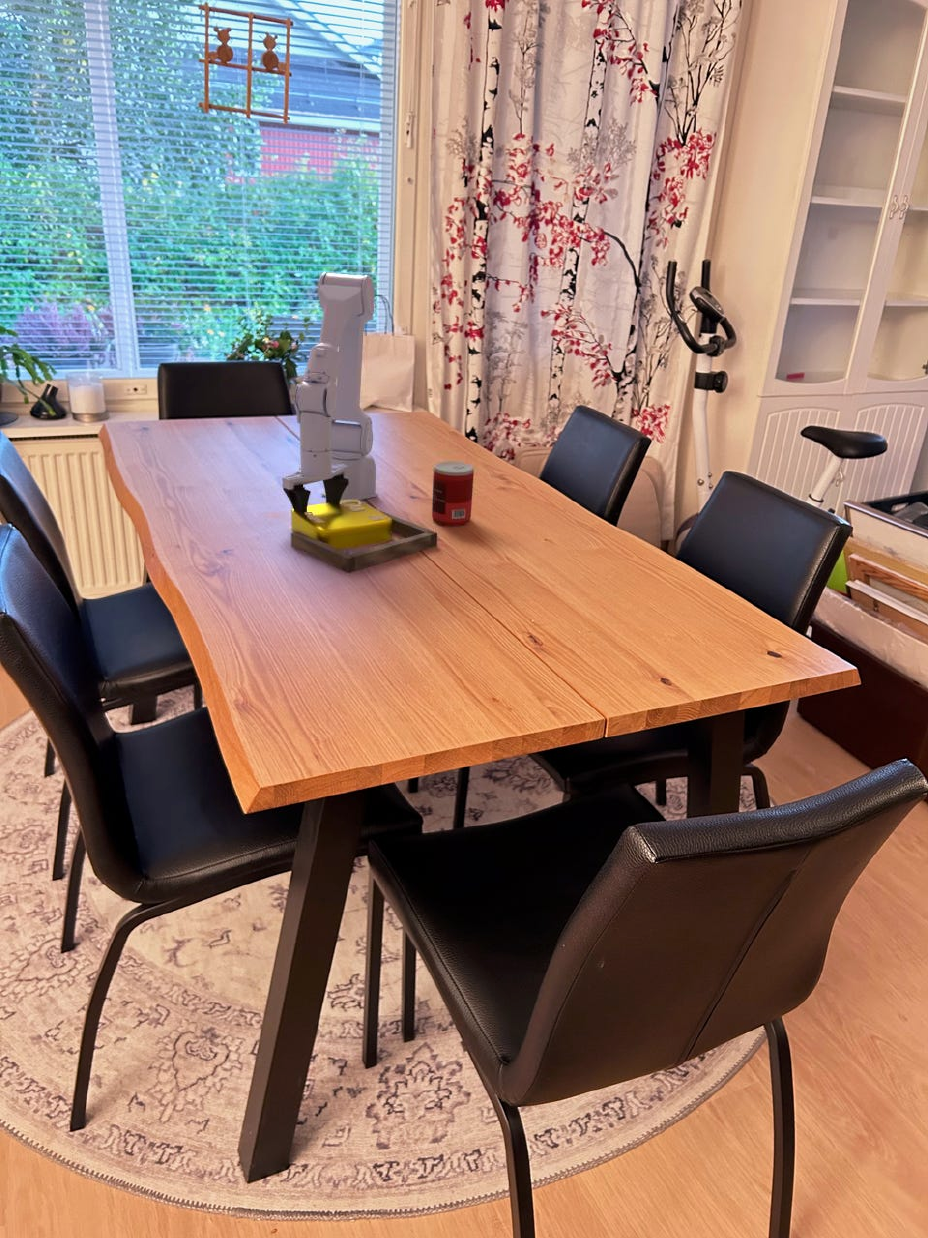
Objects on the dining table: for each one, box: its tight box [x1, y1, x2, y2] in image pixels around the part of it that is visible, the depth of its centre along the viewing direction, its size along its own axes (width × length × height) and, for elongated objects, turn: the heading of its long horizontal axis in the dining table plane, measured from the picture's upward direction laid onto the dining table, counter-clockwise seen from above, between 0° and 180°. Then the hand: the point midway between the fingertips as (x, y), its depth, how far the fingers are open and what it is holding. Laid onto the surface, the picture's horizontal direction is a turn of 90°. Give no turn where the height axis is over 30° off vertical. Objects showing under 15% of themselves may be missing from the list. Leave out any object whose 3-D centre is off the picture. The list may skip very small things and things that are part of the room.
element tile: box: [290, 499, 393, 551], centre depth 168 cm, size 15×15×5 cm
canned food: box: [431, 461, 475, 527], centre depth 176 cm, size 8×8×11 cm
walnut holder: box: [290, 510, 438, 573], centre depth 163 cm, size 21×16×2 cm
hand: (316, 518), depth 171 cm, fingers open, 7 cm apart
